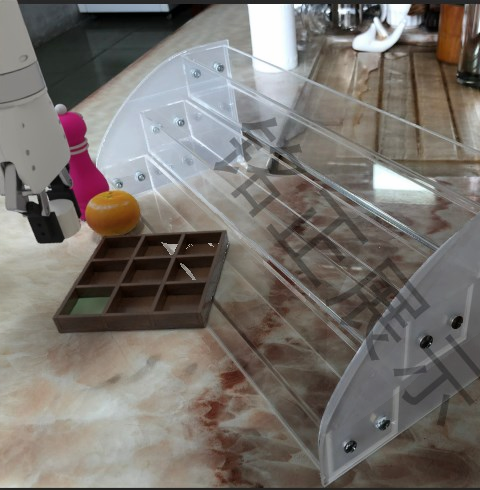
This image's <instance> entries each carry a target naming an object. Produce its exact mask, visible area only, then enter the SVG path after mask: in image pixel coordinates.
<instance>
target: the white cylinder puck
mask: <svg viewBox="0 0 480 490" xmlns="http://www.w3.org/2000/svg"><path fill="white" fill-rule="evenodd" d="M48 202H49V207H50V212H55V214H56V216H57V219H58V222H59V224H60V227H61V230H62V232H63V235H64V237H65V240H67V239H69V238H71V237H74V236H75V235H76V234H78V233H79V232H80V230H81V228H82V224H81V221H80V219H79V218H78V215H77V213H76V210H75V207H74V204H73V202H72V201H70V200H67V199H57V200H52V201H49V200H48Z"/></svg>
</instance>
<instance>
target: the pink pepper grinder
mask: <svg viewBox="0 0 480 490" xmlns="http://www.w3.org/2000/svg"><path fill="white" fill-rule="evenodd" d="M54 108H55V110H56V112H57V115H58V117H59V120H60V122H61V125H62V127H63V130H64V133H65V136H66V139H67V142H68V145H69V149H70V154H71V156H70V160H69V165H70V172H69V175H70V177H71V179H72V181H73V187H72V188H70V189H73V191H74V193H75V196H76V199H77V202H78V205H79V208H80V210H81V213H82V216H81V217H80V219H79V220H82V221H86V218H85V211H86V207H87V205H88V203H89V201H90V200H91V199H92V198H94V197H95V196H97V195H98V194H100V193H103V192H107V191H110V185H109V182H108V180H107V178H106V176H105V175H104V174H103V173H102V171H101V170H100V169H99V168H98V167H97V165H95V163H94V161H93V160H92V158H91V155H90V154H89V147H90V143H89V142H88V138H87V137H86V135H87V131H88V128H87V124H86V122H85V119H84V117H83V118H82V117H81V116H79V115H78V114H76V113H73V112H74V111H68V108H67V107H66V106H65V105H64V104H62V103H58V104H56V105H55V106H54Z"/></svg>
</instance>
